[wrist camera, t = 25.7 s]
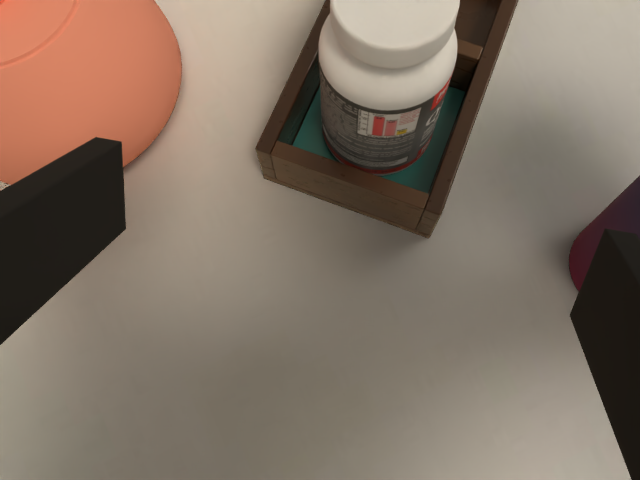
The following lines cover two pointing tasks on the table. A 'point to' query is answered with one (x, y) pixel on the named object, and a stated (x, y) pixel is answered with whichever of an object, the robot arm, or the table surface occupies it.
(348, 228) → the table surface
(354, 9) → the pill bottle
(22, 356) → the table surface
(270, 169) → the divided tray
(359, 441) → the table surface
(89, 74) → the sugar bowl
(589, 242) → the cup
